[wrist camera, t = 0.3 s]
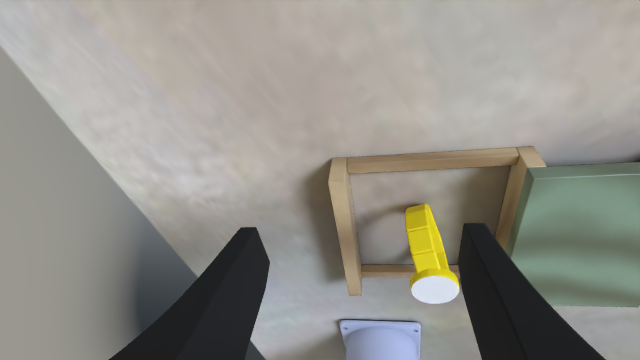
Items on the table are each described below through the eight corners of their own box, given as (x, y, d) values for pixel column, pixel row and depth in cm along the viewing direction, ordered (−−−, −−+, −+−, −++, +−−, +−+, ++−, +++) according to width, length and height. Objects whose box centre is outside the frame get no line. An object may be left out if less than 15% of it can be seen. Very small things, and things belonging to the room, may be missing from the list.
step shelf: (614, 271, 26) (638, 307, 23) (350, 270, 30) (348, 301, 27) (697, 135, 18) (744, 169, 16) (331, 157, 22) (326, 187, 20)
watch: (453, 242, 26) (470, 315, 21) (417, 249, 27) (426, 321, 22) (432, 185, 23) (447, 257, 18) (392, 196, 24) (396, 267, 19)
